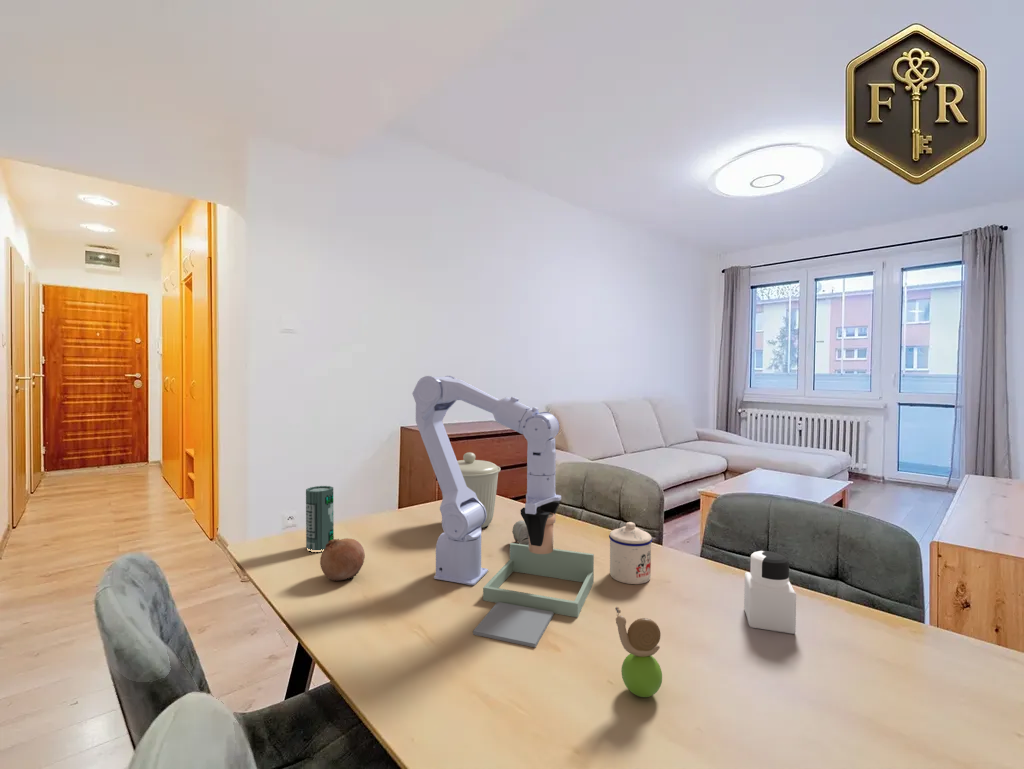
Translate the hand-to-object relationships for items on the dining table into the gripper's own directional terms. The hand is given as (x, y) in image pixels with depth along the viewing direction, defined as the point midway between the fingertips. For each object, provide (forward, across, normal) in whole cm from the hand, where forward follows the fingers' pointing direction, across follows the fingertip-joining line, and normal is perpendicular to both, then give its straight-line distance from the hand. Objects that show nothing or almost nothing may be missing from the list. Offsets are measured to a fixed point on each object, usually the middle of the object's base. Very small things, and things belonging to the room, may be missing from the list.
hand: (540, 539), depth 97 cm
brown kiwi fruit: (+11, -9, +42) cm, 44 cm away
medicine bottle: (+11, +3, -42) cm, 43 cm away
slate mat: (+10, -14, 0) cm, 17 cm away
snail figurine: (+11, -25, -22) cm, 35 cm away
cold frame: (+10, 0, 0) cm, 10 cm away
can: (+11, +3, +58) cm, 60 cm away
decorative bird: (+11, +19, +8) cm, 23 cm away
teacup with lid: (+11, +15, -16) cm, 25 cm away
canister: (+11, +33, +32) cm, 47 cm away
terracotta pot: (+2, 0, 0) cm, 2 cm away
